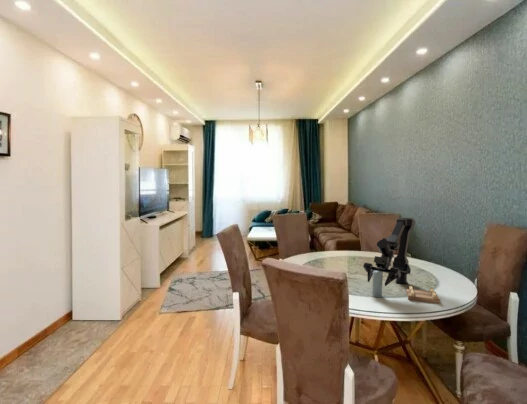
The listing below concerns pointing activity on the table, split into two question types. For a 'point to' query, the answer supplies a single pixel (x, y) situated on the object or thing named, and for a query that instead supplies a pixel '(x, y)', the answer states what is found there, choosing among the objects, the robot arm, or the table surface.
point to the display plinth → (422, 295)
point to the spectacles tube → (377, 283)
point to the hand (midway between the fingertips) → (376, 283)
